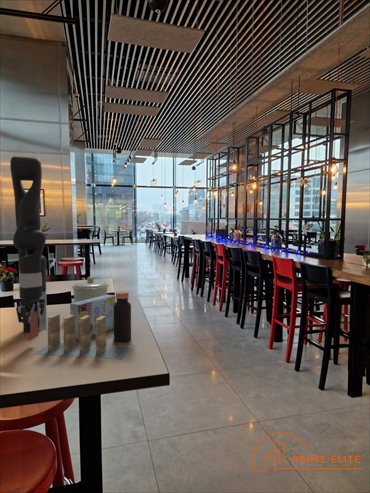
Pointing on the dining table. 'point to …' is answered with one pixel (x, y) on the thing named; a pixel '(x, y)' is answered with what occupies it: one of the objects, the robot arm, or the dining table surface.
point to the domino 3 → (69, 332)
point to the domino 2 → (53, 332)
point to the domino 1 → (32, 326)
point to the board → (89, 352)
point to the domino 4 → (85, 333)
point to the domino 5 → (100, 334)
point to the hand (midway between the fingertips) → (31, 330)
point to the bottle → (122, 318)
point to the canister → (89, 289)
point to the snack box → (94, 312)
